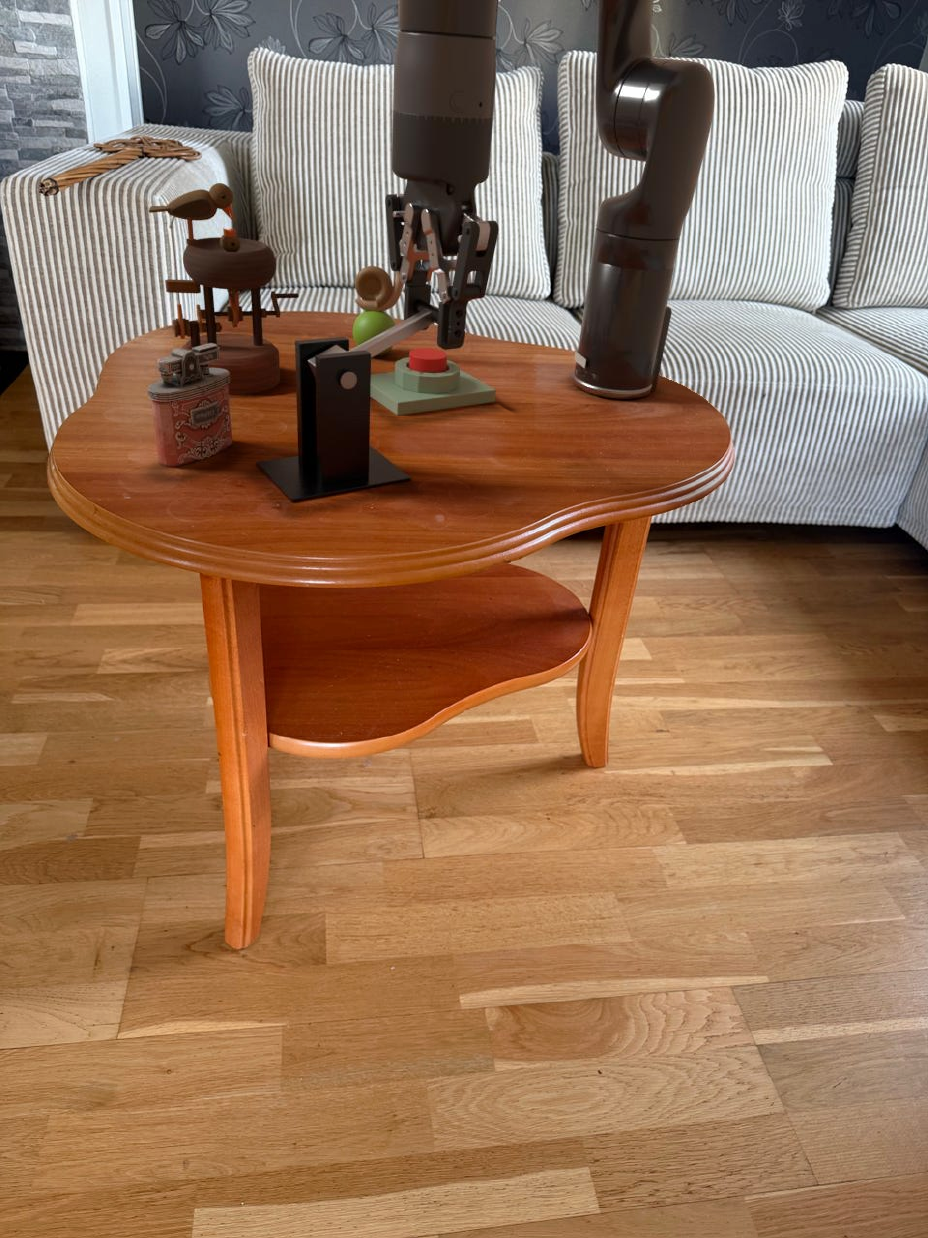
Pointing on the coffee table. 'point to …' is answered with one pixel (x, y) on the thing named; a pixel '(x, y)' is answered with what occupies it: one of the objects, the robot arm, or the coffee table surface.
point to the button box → (428, 389)
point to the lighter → (191, 407)
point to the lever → (392, 332)
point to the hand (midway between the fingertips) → (432, 337)
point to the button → (427, 360)
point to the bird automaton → (233, 270)
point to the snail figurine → (375, 303)
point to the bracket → (332, 427)
